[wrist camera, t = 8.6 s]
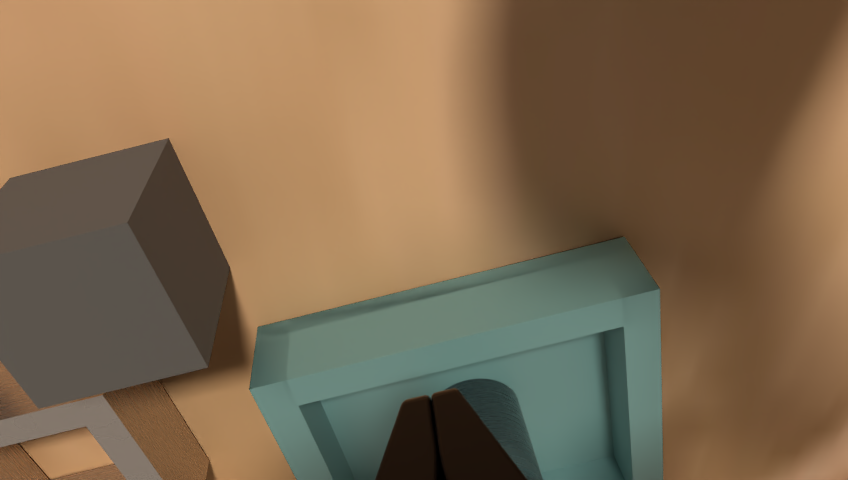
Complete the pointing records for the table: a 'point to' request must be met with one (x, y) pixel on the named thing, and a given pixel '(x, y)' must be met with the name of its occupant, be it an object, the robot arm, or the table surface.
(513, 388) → the tray
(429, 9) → the table surface
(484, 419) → the pin
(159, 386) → the socket
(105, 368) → the dark grey cube
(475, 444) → the robot arm
